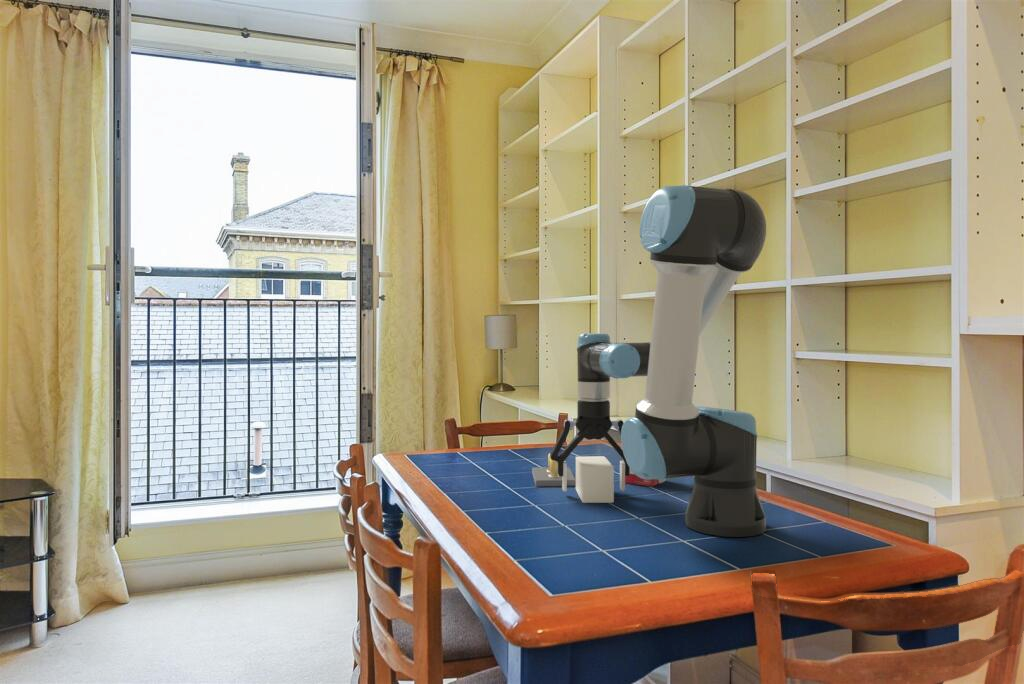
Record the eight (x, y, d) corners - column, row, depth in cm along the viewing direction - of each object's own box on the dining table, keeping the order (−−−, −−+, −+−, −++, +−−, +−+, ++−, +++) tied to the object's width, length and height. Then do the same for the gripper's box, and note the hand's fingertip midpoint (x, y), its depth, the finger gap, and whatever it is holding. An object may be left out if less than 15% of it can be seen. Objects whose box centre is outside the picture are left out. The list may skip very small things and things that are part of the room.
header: (576, 486, 169) (575, 461, 169) (535, 486, 169) (535, 462, 168) (568, 472, 185) (568, 450, 185) (532, 473, 185) (532, 451, 184)
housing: (613, 502, 153) (613, 466, 152) (582, 502, 152) (582, 467, 152) (604, 489, 166) (604, 456, 165) (575, 489, 165) (575, 456, 165)
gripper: (643, 397, 163) (642, 485, 163) (539, 397, 162) (539, 486, 163) (650, 400, 155) (650, 493, 156) (541, 401, 154) (541, 494, 155)
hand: (593, 489), depth 159 cm, fingers open, 13 cm apart
